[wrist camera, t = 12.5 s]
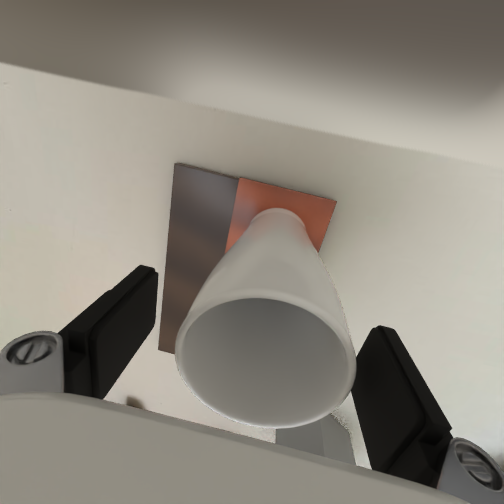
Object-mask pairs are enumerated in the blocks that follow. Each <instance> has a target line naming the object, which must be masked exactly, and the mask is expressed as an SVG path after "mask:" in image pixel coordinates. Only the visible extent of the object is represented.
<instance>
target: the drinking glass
mask: <svg viewBox="0 0 504 504" xmlns="http://www.w3.org/2000/svg"><path fill="white" fill-rule="evenodd" d="M175 359H176V364H177V368H178V371H179V373H180V376H181V378H182V380H183V381H184V383H185V385H186V386H187V387H188V389H189V390H190V391H191V393H192V394H193V395H194V396H195V397H196V398H197V399H198V400H199V401H200V402H201V403H203V404H204V405H205V406H206V407H208V408H209V409H211V410H212V411H214V412H216V413H217V414H219V415H221V416H223V417H225V418H227V419H230V420H232V421H235V422H238V423H241V424H244V425H248V426H253V427H259V428H269V429H283V428H293V427H298V426H302V425H306V424H309V423H312V422H315V421H317V420H319V419H321V418H323V417H325V416H327V415H328V414H330V413H331V412H333V411H334V410H335V409H336V408H337V407H339V406H340V405H341V403H342V402H343V401H344V400H345V399H346V397H347V396H348V394H349V393H350V391H351V389H352V386H353V384H354V381H355V377H356V369H357V365H356V355H355V351H354V347H353V344H352V340H351V336H350V332H349V328H348V324H347V321H346V317H345V314H344V311H343V307H342V304H341V301H340V298H339V296H338V293H337V291H336V288H335V286H334V283H333V281H332V279H331V277H330V275H329V273H328V271H327V269H326V267H325V265H324V263H323V262H322V260H321V258H320V256H319V254H318V252H317V251H316V249H315V247H314V245H313V243H312V241H311V239H310V237H309V236H308V234H307V230H306V227H305V225H304V223H303V221H302V220H301V219H300V218H299V217H298V216H297V215H296V214H295V213H293V212H292V211H289V210H287V209H283V208H270V209H266V210H264V211H262V212H260V213H259V214H257V215H256V216H255V217H254V218H253V219H252V220H251V222H250V224H249V225H248V227H247V229H246V230H245V231H244V232H243V233H242V235H241V236H240V237H239V238H238V239H237V241H236V242H235V243H234V244H233V245H232V246H231V248H230V249H229V250H228V251H227V252H226V253H225V254H224V256H223V257H222V258H221V259H220V261H219V262H218V263H217V264H216V266H215V267H214V269H213V270H212V271H211V273H210V274H209V276H208V277H207V279H206V280H205V282H204V284H203V285H202V287H201V289H200V291H199V292H198V294H197V296H196V298H195V300H194V301H193V303H192V305H191V307H190V309H189V311H188V313H187V315H186V317H185V319H184V321H183V323H182V325H181V327H180V329H179V332H178V335H177V338H176V344H175Z"/></svg>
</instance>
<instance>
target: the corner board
mask: <svg viewBox="0 0 504 504" xmlns="http://www.w3.org/2000/svg"><path fill="white" fill-rule="evenodd" d="M336 203H337V201H334V200H330V199H326V198H322V197H318V196H314V195H310V194H306V193H302V192H298V191H294V190H290V189H286V188H282V187H278V186H274V185H270V184H266V183H262V182H258V181H254V180H250V179H246V178H242V177H240V178H237V177H233V176H229V175H225V174H221V173H217V172H213V171H209V170H205V169H201V168H197V167H193V166H189V165H185V164H181V163H175V165H174V176H173V187H172V199H171V210H170V221H169V233H168V244H167V255H166V267H165V278H164V289H163V300H162V312H161V323H160V334H159V346H158V350H160V351H164V352H168V353H172V354H175V344H176V338H177V335H178V332H179V329H180V327H181V325H182V323H183V321H184V319H185V317H186V315H187V313H188V311H189V309H190V307H191V305H192V303H193V301H194V300H195V298H196V296H197V294H198V292H199V291H200V289H201V287H202V285H203V284H204V282H205V280H206V279H207V277H208V276H209V274H210V273H211V271H212V270H213V269H214V267H215V266H216V264H217V263H218V262H219V261H220V259H221V258H222V257H223V256H224V254H225V253H226V252H227V251H228V250H229V249H230V248H231V246H232V245H233V244H234V243H235V242H236V241H237V239H238V238H239V237H240V236H241V235H242V233H243V232H244V231H245V230H246V229H247V227H248V225H249V224H250V222H251V220H252V219H253V218H254V217H255V216H256V215H257V214H259V213H260V212H262V211H264V210H266V209H270V208H283V209H287V210H289V211H292V212H293V213H295V214H296V215H297V216H298V217H299V218H300V219H301V220H302V221H303V223H304V225H305V227H306V230H307V234H308V236H309V237H310V239H311V241H312V243H313V245H314V247H315V249H316V251H317V252H319V249H320V247H321V244H322V241H323V238H324V236H325V233H326V230H327V227H328V225H329V222H330V219H331V216H332V214H333V211H334V208H335V205H336Z"/></svg>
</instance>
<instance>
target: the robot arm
mask: <svg viewBox="0 0 504 504" xmlns="http://www.w3.org/2000/svg"><path fill="white" fill-rule="evenodd" d="M157 289H158V273H157V272H155V269H154V268H152V267H148V266H144V265H139V266H138V267H137V268H136V269H135V270H133V271H132V272H131V273H130V274H129V275H128V276H126V277H125V278H124V279H123V280H122V281H121V282H120V283H118V284H117V285H116V286H115V287H114V288H113V289H111V290H108V291H107V292H105V293H104V294H103V295H102V296H101V297H99V298H98V299H97V300H96V301H95V302H94V303H92V304H91V305H90V306H89V307H88V308H87V309H85V310H84V311H83V312H82V313H81V314H80V315H78V316H77V317H76V318H75V319H74V320H72V321H71V322H70V323H69V324H68V325H67V326H65V327H64V328H63V329H62V330H61V331H60V332H58V333H55V332H52V331H37V332H32V333H28V334H25V335H22V336H20V337H18V338H16V339H14V340H13V341H11V342H10V343H8V344H7V345H6V346H5V347H4V348H3V349H2V350H1V352H0V504H504V472H503V471H502V470H501V468H500V467H499V465H498V464H497V463H496V462H495V461H494V460H493V459H492V458H491V457H490V455H488V454H487V453H486V452H485V451H484V450H483V449H481V448H480V447H479V446H477V445H475V444H474V443H472V442H471V441H468V440H466V439H464V438H458V437H456V438H453V437H452V435H451V433H450V430H451V429H452V427H451V426H450V424H449V422H448V420H447V419H446V417H445V415H444V413H443V412H442V410H441V408H440V407H439V405H438V403H437V401H436V400H435V398H434V396H433V394H432V393H431V391H430V389H429V388H428V386H427V384H426V382H425V381H424V379H423V377H422V376H421V374H420V372H419V370H418V369H417V367H416V365H415V363H414V362H413V360H412V358H411V357H410V355H409V353H408V351H407V350H406V348H405V346H404V345H403V343H402V341H401V339H400V338H399V336H398V334H397V332H396V331H395V330H394V329H392V328H388V327H384V326H381V325H379V326H377V327H376V328H372V330H371V331H370V333H369V335H368V337H367V339H366V340H365V342H364V344H363V346H362V348H361V350H360V351H359V353H358V355H357V357H356V365H357V369H356V377H355V381H354V384H353V386H352V389H351V393H352V396H353V400H354V404H355V408H356V412H357V415H358V419H359V423H360V427H361V430H362V434H363V438H364V442H365V446H366V449H367V453H368V457H369V461H370V465H371V468H372V470H371V469H367V468H364V467H360V466H356V465H352V464H349V463H345V462H341V461H338V460H334V459H330V458H327V457H323V456H319V455H315V454H312V453H308V452H304V451H301V450H297V449H293V448H289V447H285V446H282V445H278V444H274V443H270V442H267V441H263V440H259V439H255V438H251V437H248V436H244V435H240V434H236V433H232V432H229V431H225V430H221V429H217V428H213V427H209V426H206V425H202V424H198V423H194V422H190V421H186V420H182V419H178V418H174V417H171V416H167V415H163V414H159V413H155V412H151V411H147V410H143V409H139V408H135V407H131V406H127V405H122V404H118V403H114V402H110V401H106V400H102V399H103V398H104V397H105V396H106V395H107V393H108V392H109V391H110V389H111V388H112V386H113V385H114V383H115V382H116V380H117V379H118V378H119V376H120V375H121V373H122V372H123V370H124V369H125V368H126V366H127V365H128V363H129V362H130V360H131V359H132V358H133V356H134V355H135V353H136V352H137V350H138V349H139V348H140V346H141V345H142V343H143V342H144V340H145V339H146V337H147V336H148V335H149V333H150V332H151V330H152V329H153V327H154V324H155V318H156V304H157Z"/></svg>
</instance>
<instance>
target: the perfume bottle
mask: <svg viewBox="0 0 504 504" xmlns="http://www.w3.org/2000/svg"><path fill="white" fill-rule="evenodd" d="M275 444H278V445H282V446H285V447H289V448H293V449H297V450H301V451H304V452H308V453H312V454H315V455H319V456H323V457H327V458H330V459H334V460H338V461H341V462H345V463H349V464H352V465H356V463H355V458H354V454H353V449H352V444H351V440H350V435H349V432H348V431H347V430H346V429H345V428H344V427H343V426H342V425H341V424H340V423H339V422H338V421H337V420H336V419H335V418H334V417H333V416H332V415H331V414H328V415H327V416H325V417H323V418H321V419H319V420H317V421H315V422H312V423H309V424H306V425H302V426H298V427H293V428H283V429H276V443H275Z"/></svg>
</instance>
